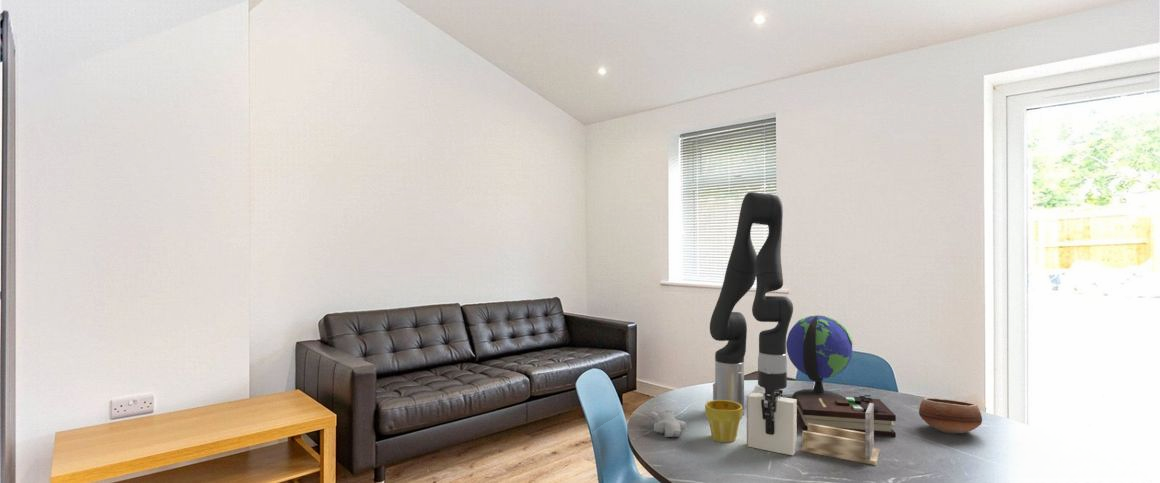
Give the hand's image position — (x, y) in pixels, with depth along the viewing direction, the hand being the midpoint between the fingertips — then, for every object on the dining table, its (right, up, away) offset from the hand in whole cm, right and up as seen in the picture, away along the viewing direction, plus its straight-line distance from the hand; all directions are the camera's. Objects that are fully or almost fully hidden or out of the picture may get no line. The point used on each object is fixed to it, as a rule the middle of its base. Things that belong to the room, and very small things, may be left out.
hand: (772, 431), depth 154 cm
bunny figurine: (-26, -5, +15) cm, 31 cm away
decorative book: (+29, -5, +20) cm, 36 cm away
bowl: (+57, -5, +13) cm, 59 cm away
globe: (+33, -5, +48) cm, 58 cm away
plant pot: (-11, -5, +8) cm, 15 cm away
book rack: (+18, -5, -2) cm, 19 cm away
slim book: (0, -5, 0) cm, 5 cm away
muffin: (+10, -5, +41) cm, 43 cm away
